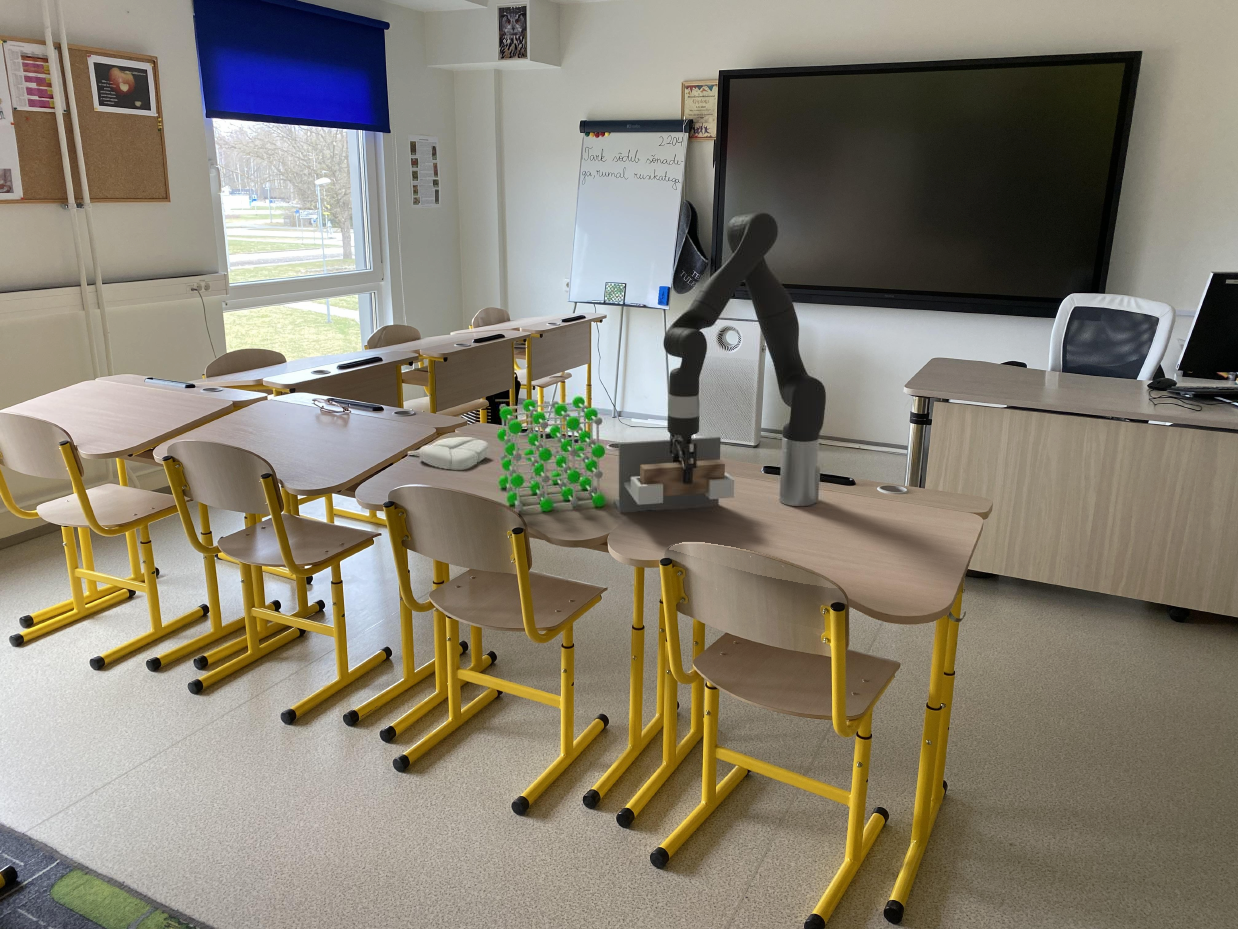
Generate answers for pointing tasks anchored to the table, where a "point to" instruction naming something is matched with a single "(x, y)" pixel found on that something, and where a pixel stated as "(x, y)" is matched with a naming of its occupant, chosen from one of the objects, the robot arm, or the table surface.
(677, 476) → the rail
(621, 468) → the rack
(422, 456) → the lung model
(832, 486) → the table surface
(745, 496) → the table surface
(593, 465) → the molecular structure model
